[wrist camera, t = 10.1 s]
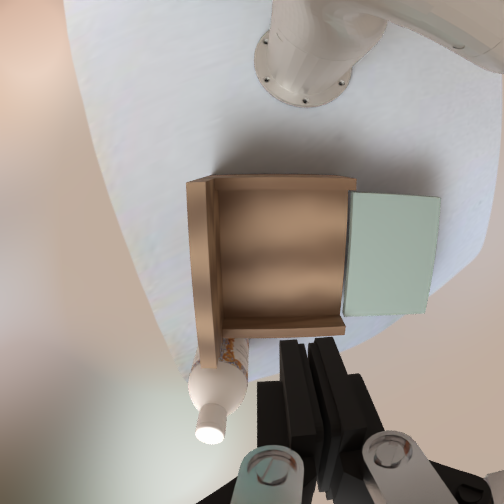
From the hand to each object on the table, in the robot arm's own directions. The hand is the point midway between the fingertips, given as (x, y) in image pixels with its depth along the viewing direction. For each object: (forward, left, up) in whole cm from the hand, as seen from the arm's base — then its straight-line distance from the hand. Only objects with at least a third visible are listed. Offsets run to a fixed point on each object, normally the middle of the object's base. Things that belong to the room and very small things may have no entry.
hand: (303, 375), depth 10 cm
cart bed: (+4, +1, -33) cm, 33 cm away
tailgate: (+4, +9, -27) cm, 28 cm away
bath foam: (+18, -6, -33) cm, 38 cm away
